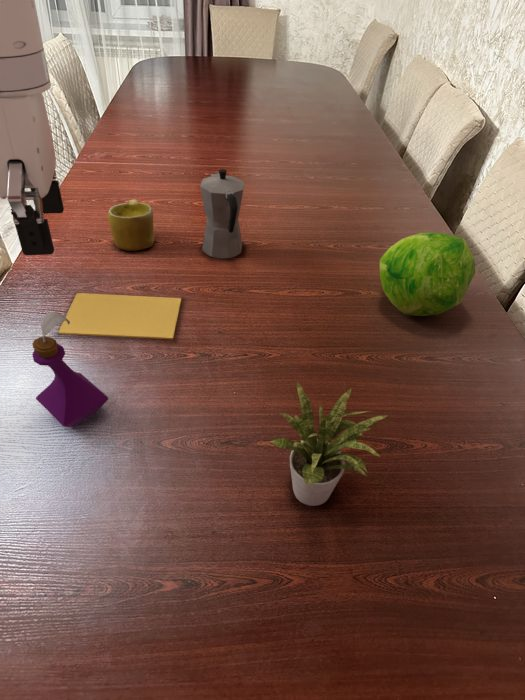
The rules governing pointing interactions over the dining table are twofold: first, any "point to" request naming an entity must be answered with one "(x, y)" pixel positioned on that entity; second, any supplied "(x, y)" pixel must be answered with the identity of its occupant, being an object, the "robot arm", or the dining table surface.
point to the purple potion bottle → (64, 380)
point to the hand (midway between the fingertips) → (45, 231)
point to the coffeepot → (222, 215)
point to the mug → (132, 225)
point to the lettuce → (427, 273)
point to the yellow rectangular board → (122, 316)
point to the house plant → (323, 448)
